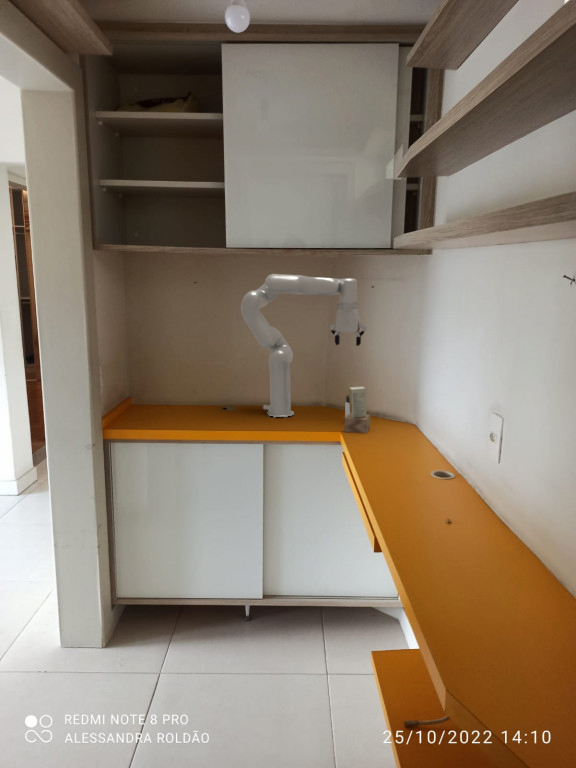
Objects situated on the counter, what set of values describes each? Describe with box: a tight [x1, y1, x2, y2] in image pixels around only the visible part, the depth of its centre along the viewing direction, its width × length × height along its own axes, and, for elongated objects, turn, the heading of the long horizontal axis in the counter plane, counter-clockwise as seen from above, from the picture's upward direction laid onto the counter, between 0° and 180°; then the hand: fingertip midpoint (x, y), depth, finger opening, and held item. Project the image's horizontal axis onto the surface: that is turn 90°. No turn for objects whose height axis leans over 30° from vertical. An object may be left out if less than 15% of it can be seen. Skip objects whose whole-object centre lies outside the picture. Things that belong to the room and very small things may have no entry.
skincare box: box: [348, 385, 367, 418], centre depth 229 cm, size 6×4×12 cm
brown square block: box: [344, 413, 371, 434], centre depth 230 cm, size 9×9×6 cm
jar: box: [344, 394, 350, 419], centre depth 242 cm, size 9×8×12 cm
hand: (347, 345), depth 247 cm, fingers open, 9 cm apart
